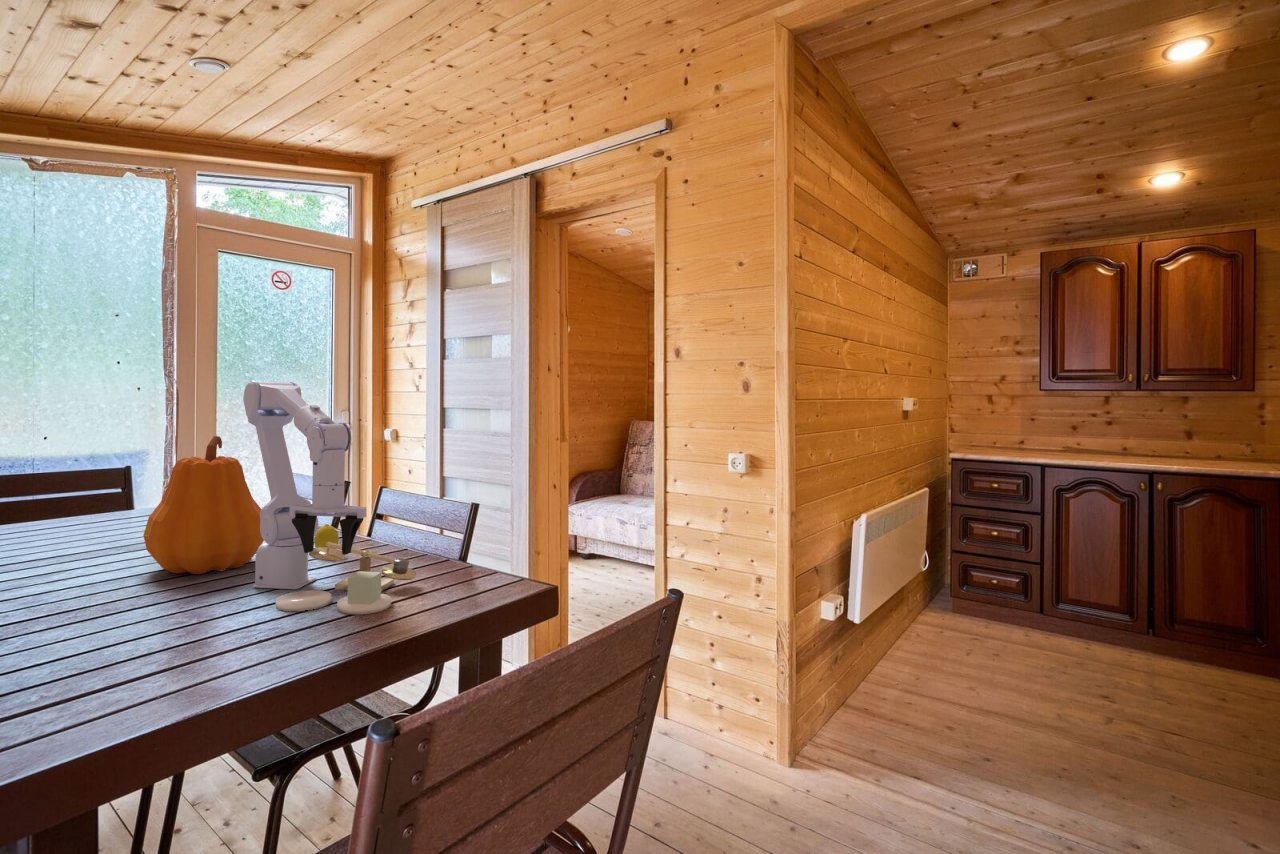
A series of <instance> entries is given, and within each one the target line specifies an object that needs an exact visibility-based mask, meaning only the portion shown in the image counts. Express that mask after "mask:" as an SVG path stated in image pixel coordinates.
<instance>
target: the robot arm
mask: <svg viewBox="0 0 1280 854" xmlns="http://www.w3.org/2000/svg"><path fill="white" fill-rule="evenodd" d="M242 398H243V399H242V400H243V406H244V409H245V410H244V411H245V415H246V417H247V422H248V423H249V424H251V425H252V426H254V427H255V430H256V435H257V439H258V444H259V448H260V454H261V459H262V462H263V467H264V472H265V477H266V481H267V485H268V491H269V494H270V495H269V496H270V499H271V500H270V501H268V502H267V503H266V504H265V505H264V506H263V507H262V508H261V509H262V510H261V511H260V533H261V536H262V538H263V540H264V541H263V543H262V544H261V545H260V546H259V548H258V550H257V552H256V553H255V563H254V564H255V568H254V569H255V571H254V573H255V575H254V578H255V579H254V580H255V581H254V584H253V585H252V587H253V588H260V589H263V588H264V589H281V590H298V589H300V588H302V587H304V586H307V585H308V584H310V583H312V582H314V581H316V580H317V577H316V576H309V552H311V551H313V548H315V544H314V538H315V534H316V532H317V530H318V529H319V520H318V519H319V518H318V517H338V518H339V517H340V518H342V519H339V522H338V523H339V526H340V530H341V531H340V532H341V545H342V550H341V551H342V555H345V556H346V555H348V554H350V553H351V548H353V543H354V540H355V537H356V536H357V535H356V534H357V533H358V530H359V528H360V526H361V525H362V523H363V521H364V519H365V518H367V507H366V506H358V505H357V506H355V505H346V504H345V473H346V472H345V471H346V469H345V467H346V466H345V465H346V464H345V463H346V452H347V451H348V450H349V449H350V447H351V444H352V431H351V429H350V427H349V426H348V424H347V423H346V422H335V421H334V420H332V419H331V417H329V416H328V415H327V414H326V413H325V412H324V411H323V410H321V407H320V406H319V405H318V404H317V405H316V404H311V405H308V403H307V402H306V401H305V399H304V398H303V397H302V389H301V387H300V386H299V384H297V383H296V382H294V381H293V382H292V381H291V382H280V381H279V382H278V381H277V382H276V381H275V382H274V381H256V380H250V381H249V382H248V383H247V384H246V385H245V387H244V391H243V397H242ZM292 421H293V423H294V427H295V428H296V429H298V430H299V432H300V433H301V434H303V435H304V436H305V438H306V443H307V444H306V445H307V447H308V450H309V451H308V452H309V459H310V461H311V462H312V485H311V486H312V491H311V493H312V495H311V498H312V499H311V500H308V499H306V498H305V497H303V496H301V495H300V494H298V492H297V491H298V490H297V487H296V486H297V485H296V482H295V478H294V474H293V469H292V465H291V460H290V455H289V452H288V451H289V450H288V448H287V447H288V446H287V443H286V438H285V434H284V426H286V425H288V424H291V423H292ZM311 502H312V503H311Z"/></svg>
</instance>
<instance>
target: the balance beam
mask: <svg viewBox="0 0 1280 854" xmlns="http://www.w3.org/2000/svg"><path fill="white" fill-rule="evenodd" d="M326 546H328V548H326V547H317V548H316V547H314V548H313V551H311V552H309V553H308V556H310V557H311V558H313V559H316V560H319V561H325V562H326V561H327V562H339V561H343V560H345V557H346V555H342V544H339V543H338V544H336V543H332V542H327V543H326ZM330 547H332V548H330ZM333 548H336V549H333ZM351 553H352V554H356V555H359V556H361V557H365V556H366V557H370V558H371V559H374V560H379V561H383V562H387V563H391V564H393V565H387V566H383V567H382V569H381V575H383V576H385V577H386V578H388V579H394V580H397V581H411V580H414V579H416V577H417V572H416V571H415V570H414V569H412V568H409V565H410V560H409V559H407V558H403V557H396V558H392V557H389V556H385V555H381V554H377V553H373V552H371V551H369V550H362V549H359V548H355V547H352V548H351Z"/></svg>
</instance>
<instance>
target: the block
mask: <svg viewBox="0 0 1280 854" xmlns="http://www.w3.org/2000/svg"><path fill="white" fill-rule="evenodd" d="M347 577H348V590H347V596H348V597H347V596H346V597H347V603H349V604H370V605H371V604H372V603H374V602H375V601H377V600H378V599H379V598H381V594H382V591H381V578H382V571H380V572H379V571H370V572H363V571H360V570H358V571H357V572H355V573H353V574H351V575H349V576H347Z"/></svg>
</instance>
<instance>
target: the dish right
mask: <svg viewBox="0 0 1280 854" xmlns="http://www.w3.org/2000/svg"><path fill="white" fill-rule="evenodd" d="M347 597H348V595H347V596H344V597H342V598H340V599H339V600H337V602H336V603H337V604H336V605H337V609H336V610H337V611H338V612H339V613H341V614H345V615H346V614H347V615H353V616H354V615H355V616H356V615H369V614H375V613H380V612H383V611H385V610H387V609H389V608H390V607H391V606H392V596H390V595H388V594H386V593H385V594H384V593H381V598H379V599H378V600H377V601H375V602H374V603H372V604H371V605H370V604H349V603H347Z"/></svg>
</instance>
